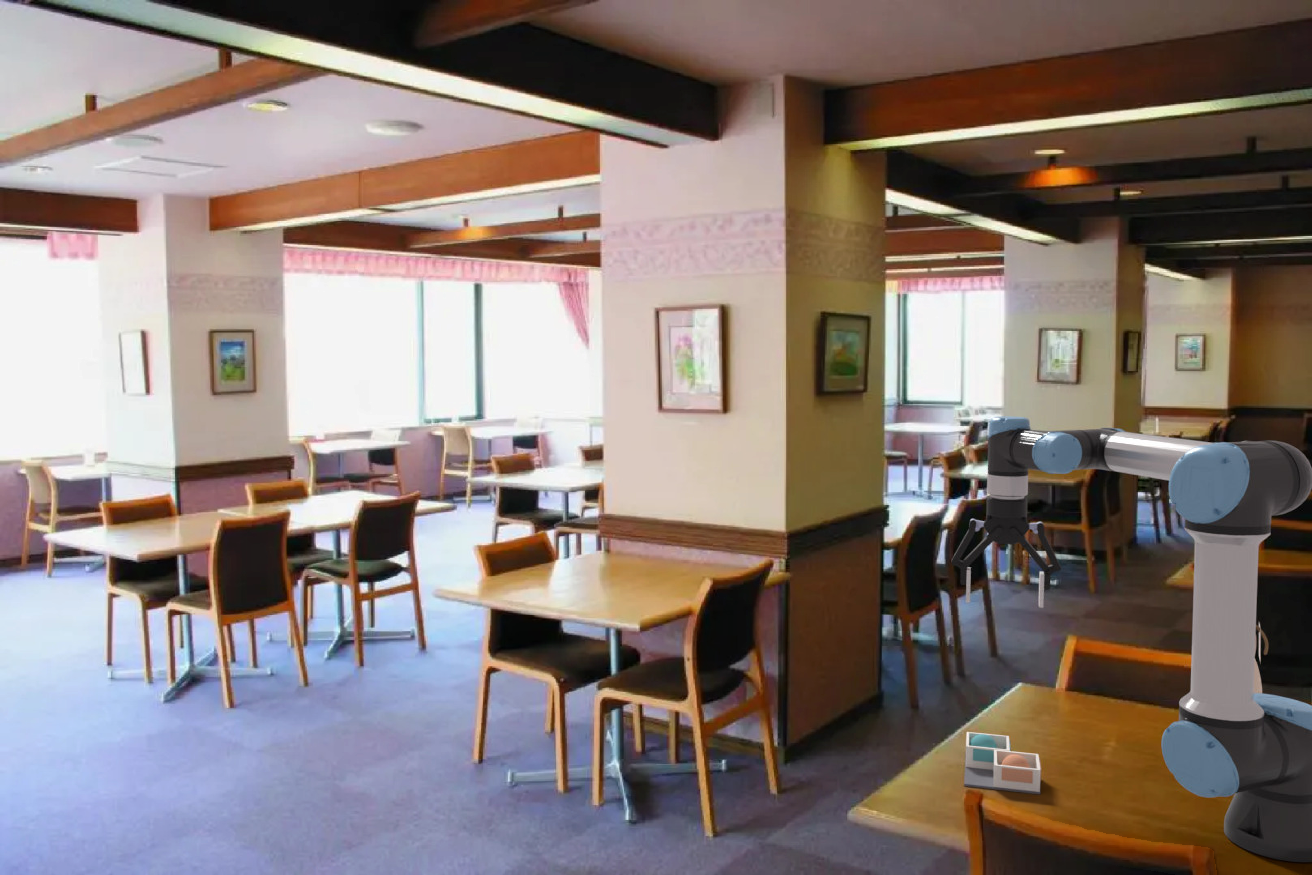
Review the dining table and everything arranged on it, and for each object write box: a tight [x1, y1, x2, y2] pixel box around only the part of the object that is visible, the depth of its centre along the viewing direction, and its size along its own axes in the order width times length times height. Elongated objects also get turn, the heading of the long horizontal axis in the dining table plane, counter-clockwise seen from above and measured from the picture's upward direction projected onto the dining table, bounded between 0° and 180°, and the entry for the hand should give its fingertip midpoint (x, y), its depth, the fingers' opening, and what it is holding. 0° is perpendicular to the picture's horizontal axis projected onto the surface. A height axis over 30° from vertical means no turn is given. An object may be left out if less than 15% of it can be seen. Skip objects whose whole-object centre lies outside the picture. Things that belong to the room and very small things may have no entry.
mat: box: [963, 753, 1041, 795], centre depth 201 cm, size 16×13×1 cm
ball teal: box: [970, 733, 997, 748], centre depth 206 cm, size 5×5×5 cm
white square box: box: [993, 750, 1042, 793], centre depth 197 cm, size 8×8×4 cm
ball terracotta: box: [1001, 754, 1030, 768], centre depth 196 cm, size 5×5×5 cm
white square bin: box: [965, 731, 1012, 770], centre depth 206 cm, size 8×8×4 cm
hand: (1004, 603), depth 212 cm, fingers open, 13 cm apart
